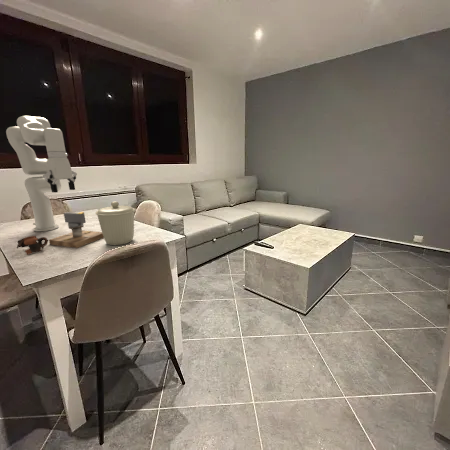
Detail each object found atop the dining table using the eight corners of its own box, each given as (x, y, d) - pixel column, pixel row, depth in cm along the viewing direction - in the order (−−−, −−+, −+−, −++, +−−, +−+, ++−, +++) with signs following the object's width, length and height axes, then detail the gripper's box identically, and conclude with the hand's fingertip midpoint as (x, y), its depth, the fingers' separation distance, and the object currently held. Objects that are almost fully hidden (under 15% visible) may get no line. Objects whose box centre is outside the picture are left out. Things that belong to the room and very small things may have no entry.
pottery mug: (19, 258, 110) (11, 241, 110) (26, 259, 118) (19, 244, 119) (49, 246, 115) (41, 230, 115) (54, 249, 123) (47, 234, 124)
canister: (102, 239, 132) (96, 200, 127) (137, 235, 139) (133, 197, 133) (98, 250, 116) (91, 206, 110) (139, 245, 122) (134, 203, 117)
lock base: (49, 244, 125) (46, 231, 123) (79, 234, 141) (77, 222, 140) (77, 248, 120) (74, 234, 118) (105, 236, 136) (103, 224, 134)
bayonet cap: (62, 228, 127) (59, 212, 125) (73, 224, 133) (71, 210, 131) (78, 229, 124) (76, 214, 122) (89, 226, 130) (87, 211, 128)
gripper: (67, 155, 129) (73, 188, 134) (33, 155, 114) (41, 193, 118) (78, 155, 127) (84, 189, 132) (45, 155, 111) (53, 193, 116)
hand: (64, 191), depth 125 cm, fingers open, 9 cm apart
